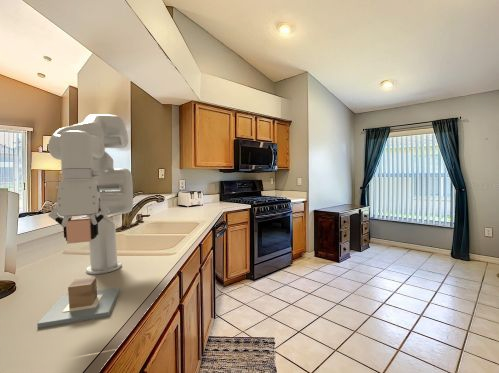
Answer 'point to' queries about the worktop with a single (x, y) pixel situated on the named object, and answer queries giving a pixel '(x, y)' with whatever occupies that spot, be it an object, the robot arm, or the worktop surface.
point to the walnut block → (82, 292)
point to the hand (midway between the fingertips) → (81, 238)
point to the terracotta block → (78, 230)
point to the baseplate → (80, 309)
